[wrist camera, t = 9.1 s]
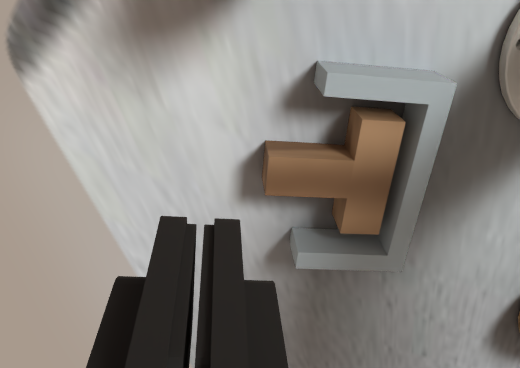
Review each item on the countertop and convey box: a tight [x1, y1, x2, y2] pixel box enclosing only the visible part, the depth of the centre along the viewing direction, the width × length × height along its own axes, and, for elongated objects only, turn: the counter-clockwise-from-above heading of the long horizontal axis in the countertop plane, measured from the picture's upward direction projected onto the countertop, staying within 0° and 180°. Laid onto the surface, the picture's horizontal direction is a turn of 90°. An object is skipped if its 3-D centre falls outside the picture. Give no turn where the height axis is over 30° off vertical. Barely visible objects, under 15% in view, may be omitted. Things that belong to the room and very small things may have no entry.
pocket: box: [290, 61, 457, 272], centre depth 33 cm, size 8×15×4 cm, turn 174°
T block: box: [262, 106, 406, 235], centre depth 33 cm, size 9×9×3 cm
